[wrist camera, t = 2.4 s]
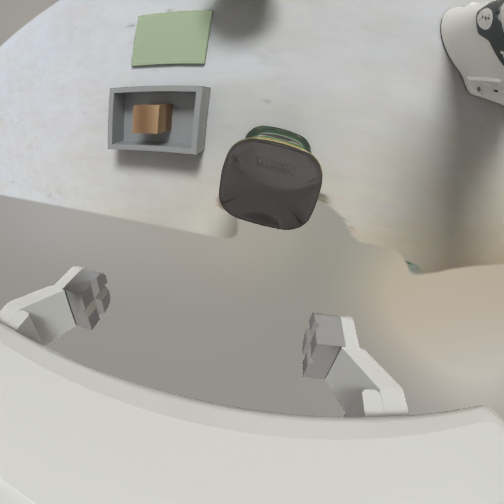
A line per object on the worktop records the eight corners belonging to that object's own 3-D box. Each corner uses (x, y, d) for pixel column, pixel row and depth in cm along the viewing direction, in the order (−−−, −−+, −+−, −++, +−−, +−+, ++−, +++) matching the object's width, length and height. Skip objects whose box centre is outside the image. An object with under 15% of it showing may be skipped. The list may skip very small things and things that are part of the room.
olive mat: (213, 10, 29) (212, 10, 29) (204, 63, 34) (204, 63, 33) (140, 16, 30) (138, 16, 29) (132, 66, 34) (131, 66, 34)
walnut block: (173, 104, 37) (159, 105, 32) (171, 129, 39) (157, 133, 34) (149, 104, 37) (133, 105, 33) (147, 128, 39) (132, 133, 35)
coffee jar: (238, 171, 41) (204, 220, 25) (250, 120, 37) (220, 133, 21) (301, 188, 41) (308, 247, 25) (316, 137, 38) (337, 163, 21)
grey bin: (210, 87, 35) (202, 86, 32) (204, 149, 40) (196, 154, 37) (123, 88, 36) (110, 88, 33) (121, 144, 41) (107, 149, 37)
